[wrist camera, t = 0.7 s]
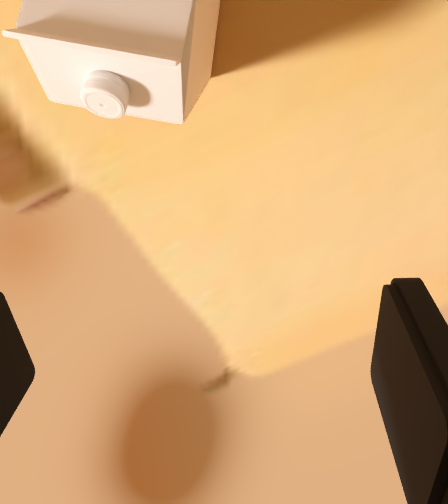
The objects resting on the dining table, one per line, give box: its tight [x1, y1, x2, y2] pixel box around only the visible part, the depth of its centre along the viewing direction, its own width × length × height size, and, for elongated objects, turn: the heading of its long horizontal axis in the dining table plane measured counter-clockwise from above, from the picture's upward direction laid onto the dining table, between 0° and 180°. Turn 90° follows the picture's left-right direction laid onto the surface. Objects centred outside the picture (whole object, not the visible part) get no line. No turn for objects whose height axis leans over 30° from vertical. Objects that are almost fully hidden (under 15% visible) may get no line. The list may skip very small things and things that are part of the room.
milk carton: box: [2, 0, 220, 124], centre depth 25 cm, size 7×7×19 cm
